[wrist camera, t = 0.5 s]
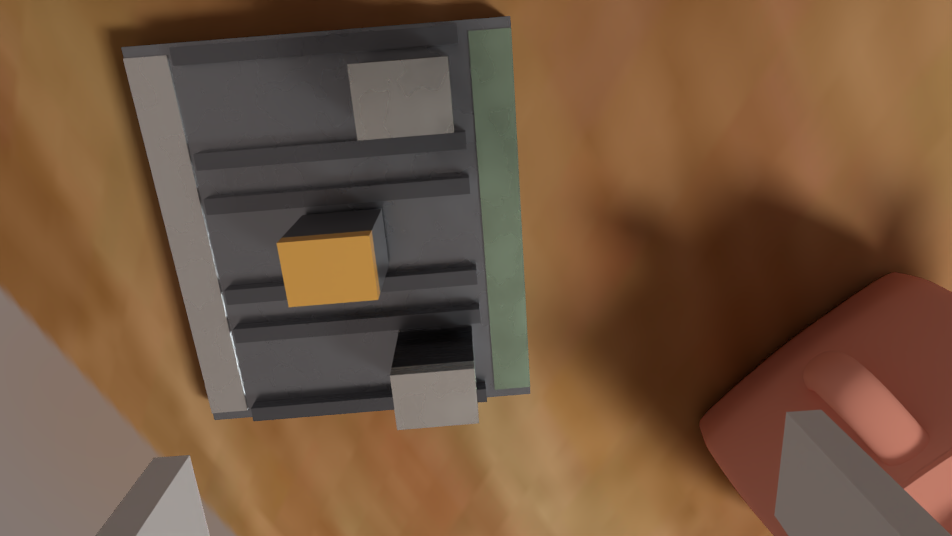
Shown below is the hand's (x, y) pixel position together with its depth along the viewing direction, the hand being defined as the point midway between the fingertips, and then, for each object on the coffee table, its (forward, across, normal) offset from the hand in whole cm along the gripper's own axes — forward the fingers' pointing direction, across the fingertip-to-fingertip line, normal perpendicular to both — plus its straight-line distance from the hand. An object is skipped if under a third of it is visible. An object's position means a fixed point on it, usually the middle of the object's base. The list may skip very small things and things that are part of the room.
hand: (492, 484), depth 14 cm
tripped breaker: (+19, -6, 0) cm, 20 cm away
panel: (+21, -6, 0) cm, 22 cm away
